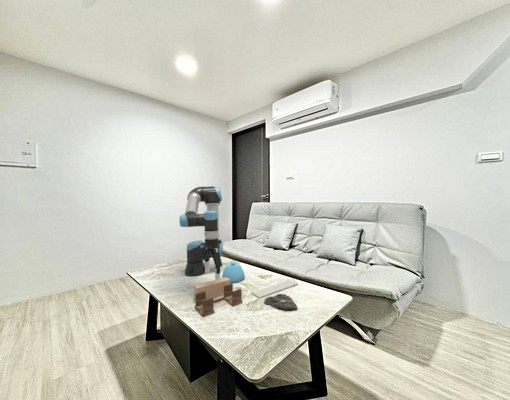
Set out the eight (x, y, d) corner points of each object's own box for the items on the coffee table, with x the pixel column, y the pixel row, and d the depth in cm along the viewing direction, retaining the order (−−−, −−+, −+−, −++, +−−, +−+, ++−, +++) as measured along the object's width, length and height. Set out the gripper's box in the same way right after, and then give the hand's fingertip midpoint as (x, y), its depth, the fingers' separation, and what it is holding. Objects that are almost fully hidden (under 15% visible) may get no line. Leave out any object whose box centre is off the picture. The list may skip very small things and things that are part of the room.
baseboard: (249, 293, 126) (259, 299, 118) (249, 288, 126) (259, 294, 118) (287, 280, 144) (298, 285, 136) (287, 276, 144) (298, 281, 136)
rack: (194, 308, 110) (194, 293, 110) (232, 295, 122) (232, 283, 122) (202, 317, 101) (202, 301, 101) (242, 302, 114) (242, 289, 114)
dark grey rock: (275, 293, 125) (259, 304, 113) (275, 287, 125) (259, 296, 113) (306, 303, 113) (292, 316, 101) (306, 296, 113) (292, 307, 101)
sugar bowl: (218, 278, 149) (217, 262, 149) (236, 273, 158) (236, 258, 158) (229, 285, 137) (229, 267, 137) (248, 279, 147) (248, 262, 146)
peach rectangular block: (194, 299, 119) (193, 285, 119) (226, 290, 130) (226, 277, 130) (197, 303, 115) (196, 288, 115) (230, 293, 126) (230, 279, 126)
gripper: (197, 236, 130) (197, 271, 130) (214, 242, 110) (215, 284, 110) (208, 235, 135) (209, 269, 135) (227, 240, 114) (228, 280, 114)
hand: (212, 275), depth 122 cm, fingers open, 13 cm apart
